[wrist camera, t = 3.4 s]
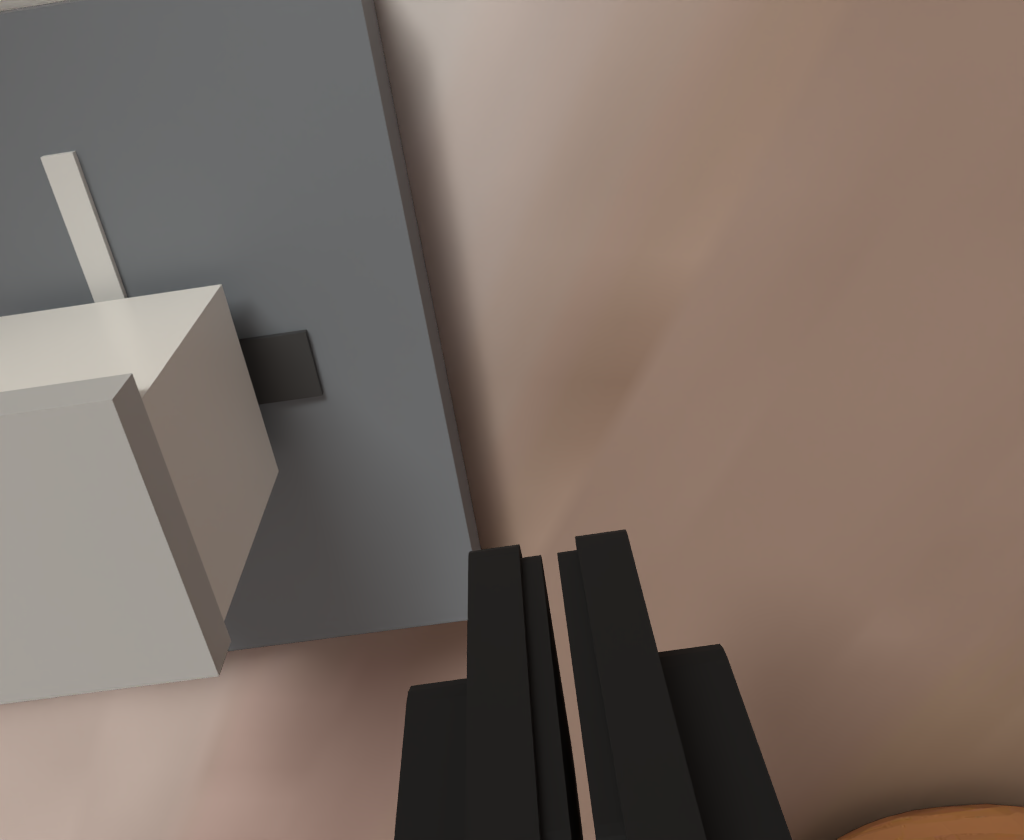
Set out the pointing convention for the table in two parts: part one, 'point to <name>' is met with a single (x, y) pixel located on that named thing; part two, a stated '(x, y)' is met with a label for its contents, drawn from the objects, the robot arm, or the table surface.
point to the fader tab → (124, 492)
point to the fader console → (256, 271)
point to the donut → (947, 824)
